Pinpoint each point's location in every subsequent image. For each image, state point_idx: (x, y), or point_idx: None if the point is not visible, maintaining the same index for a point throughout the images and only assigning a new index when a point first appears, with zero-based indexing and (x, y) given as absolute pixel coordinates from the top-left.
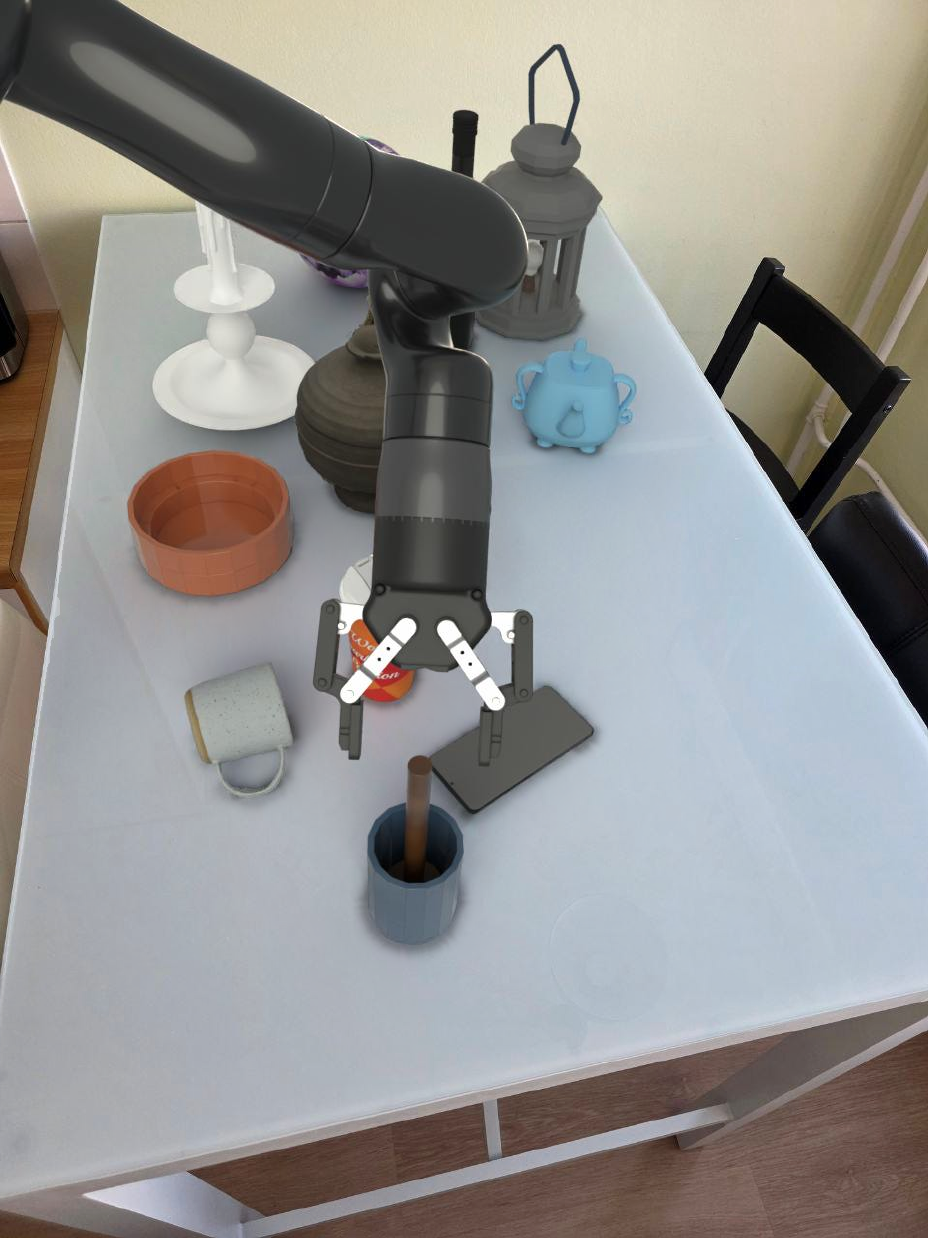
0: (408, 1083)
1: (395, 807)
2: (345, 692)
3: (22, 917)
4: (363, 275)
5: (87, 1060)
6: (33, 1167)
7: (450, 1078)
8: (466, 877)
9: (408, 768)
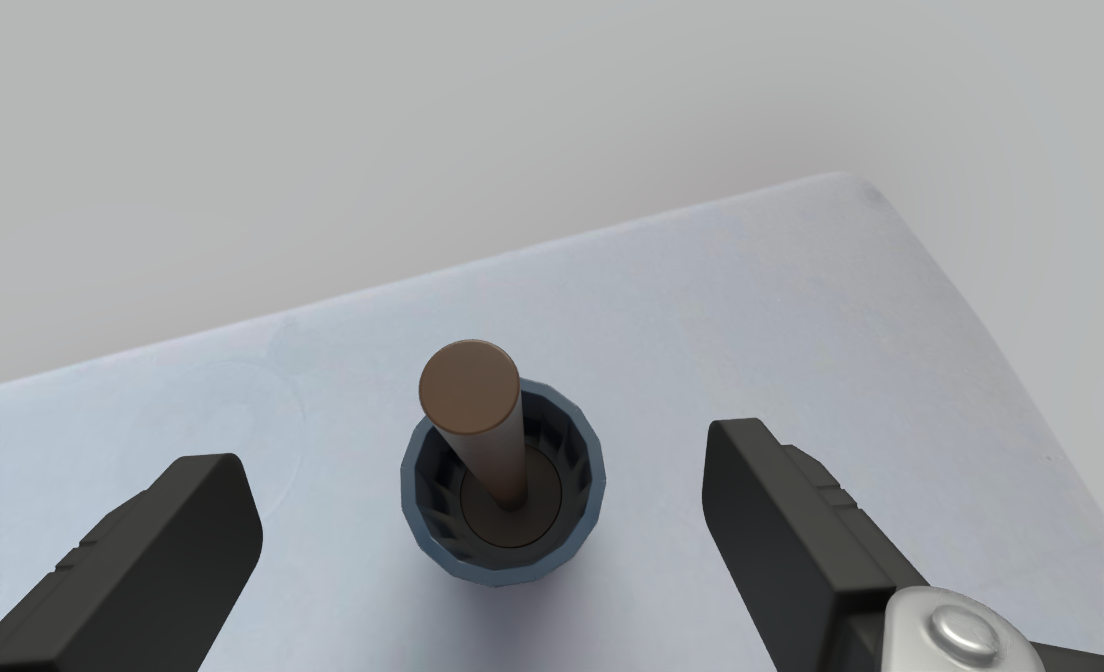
0: (496, 272)
1: (558, 561)
2: (997, 643)
3: (1038, 413)
4: None
5: (855, 265)
6: (850, 179)
7: (447, 280)
8: None
9: (515, 367)
